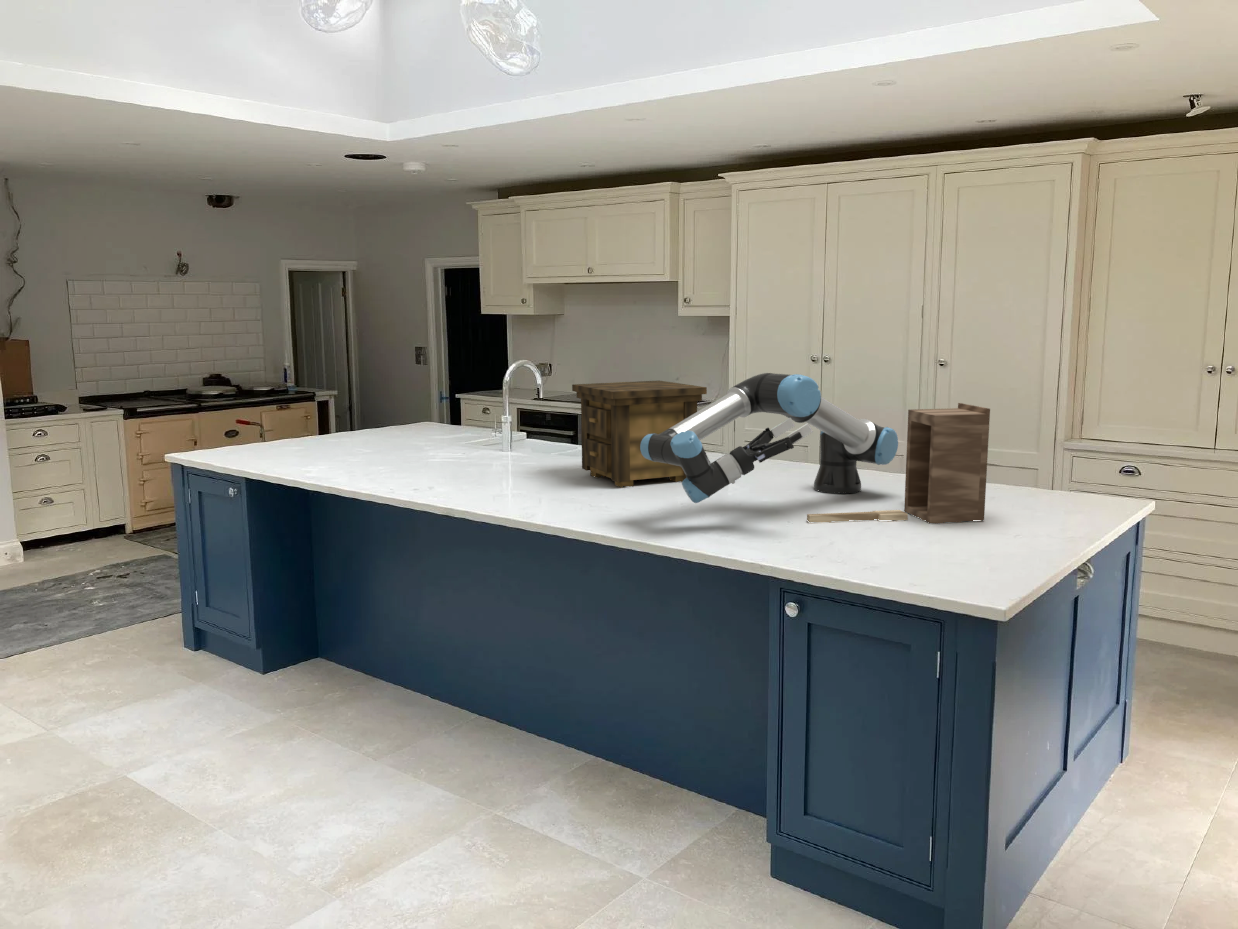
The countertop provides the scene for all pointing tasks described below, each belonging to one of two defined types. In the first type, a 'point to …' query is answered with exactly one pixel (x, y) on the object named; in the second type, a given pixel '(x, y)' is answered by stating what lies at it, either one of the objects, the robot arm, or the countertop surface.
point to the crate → (631, 426)
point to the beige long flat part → (858, 516)
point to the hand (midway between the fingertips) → (801, 424)
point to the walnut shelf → (947, 463)
